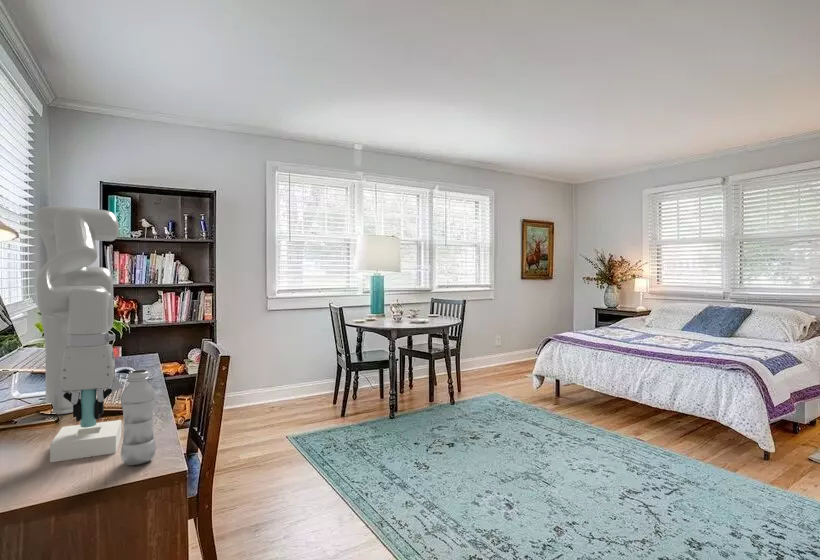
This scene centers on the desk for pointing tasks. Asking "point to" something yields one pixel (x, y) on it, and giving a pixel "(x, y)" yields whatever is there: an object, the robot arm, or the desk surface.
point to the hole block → (86, 441)
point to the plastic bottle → (138, 419)
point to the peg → (88, 408)
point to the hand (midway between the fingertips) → (88, 417)
